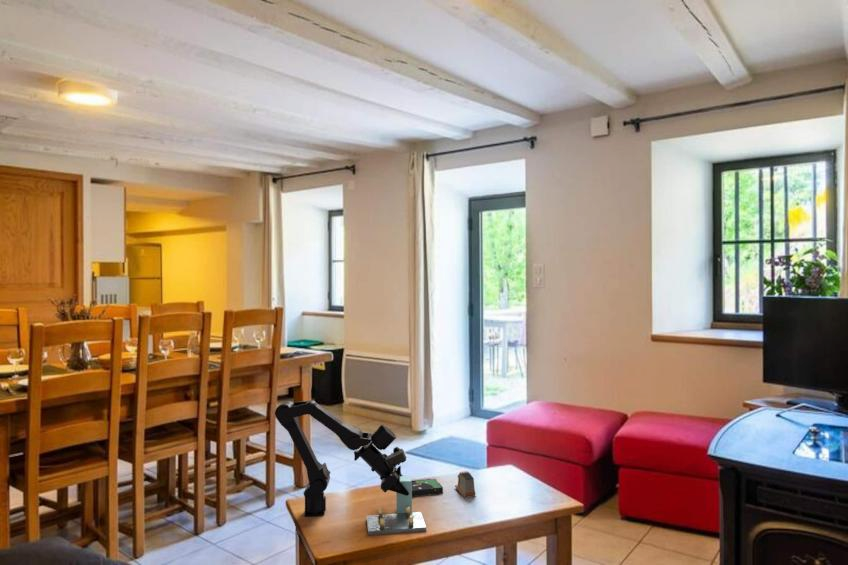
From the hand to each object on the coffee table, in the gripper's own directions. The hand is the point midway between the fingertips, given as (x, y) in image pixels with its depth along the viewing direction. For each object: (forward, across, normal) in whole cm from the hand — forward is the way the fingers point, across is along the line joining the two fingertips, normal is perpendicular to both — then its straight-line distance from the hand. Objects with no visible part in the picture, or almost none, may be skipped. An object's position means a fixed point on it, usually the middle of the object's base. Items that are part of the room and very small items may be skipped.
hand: (408, 491), depth 195 cm
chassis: (+2, -11, +7) cm, 13 cm away
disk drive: (+8, +19, +2) cm, 21 cm away
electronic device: (+19, +17, -10) cm, 27 cm away
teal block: (+4, 0, +6) cm, 7 cm away
